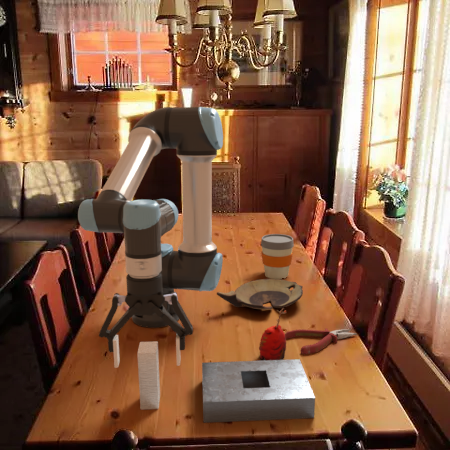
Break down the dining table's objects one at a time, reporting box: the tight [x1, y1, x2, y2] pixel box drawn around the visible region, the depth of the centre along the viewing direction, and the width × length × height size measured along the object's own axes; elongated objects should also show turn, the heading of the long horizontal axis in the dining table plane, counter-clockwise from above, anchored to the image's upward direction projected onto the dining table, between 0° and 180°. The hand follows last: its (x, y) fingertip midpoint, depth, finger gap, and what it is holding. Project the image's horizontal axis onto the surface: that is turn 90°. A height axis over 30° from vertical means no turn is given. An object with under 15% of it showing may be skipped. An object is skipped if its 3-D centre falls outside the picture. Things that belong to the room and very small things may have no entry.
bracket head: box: [201, 358, 316, 424], centre depth 113 cm, size 16×24×5 cm, turn 93°
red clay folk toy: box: [258, 307, 287, 361], centre depth 130 cm, size 8×7×15 cm
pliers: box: [284, 328, 358, 355], centre depth 141 cm, size 12×20×3 cm, turn 111°
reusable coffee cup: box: [260, 233, 295, 280], centre depth 190 cm, size 13×13×15 cm
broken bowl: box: [216, 278, 304, 311], centre depth 165 cm, size 22×30×8 cm
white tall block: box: [137, 340, 161, 411], centre depth 111 cm, size 5×4×14 cm
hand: (148, 363), depth 110 cm, fingers open, 13 cm apart
